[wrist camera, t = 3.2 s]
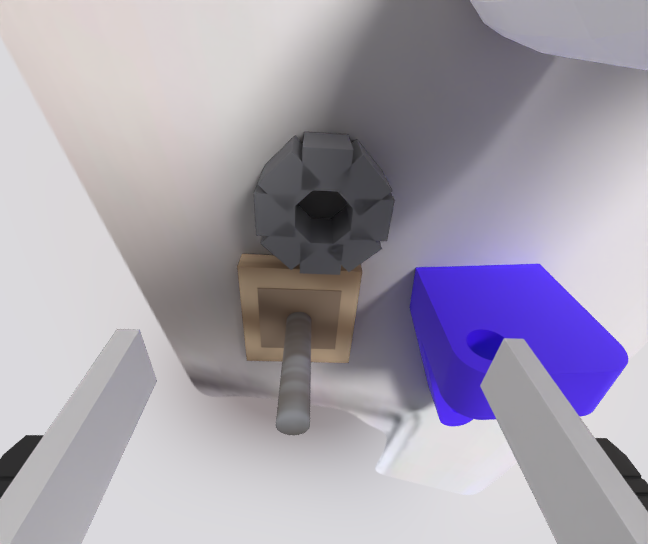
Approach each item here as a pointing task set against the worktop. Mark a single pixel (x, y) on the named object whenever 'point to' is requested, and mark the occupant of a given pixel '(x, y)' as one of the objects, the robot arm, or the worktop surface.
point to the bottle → (574, 28)
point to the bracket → (506, 335)
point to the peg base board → (296, 326)
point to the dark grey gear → (317, 233)
